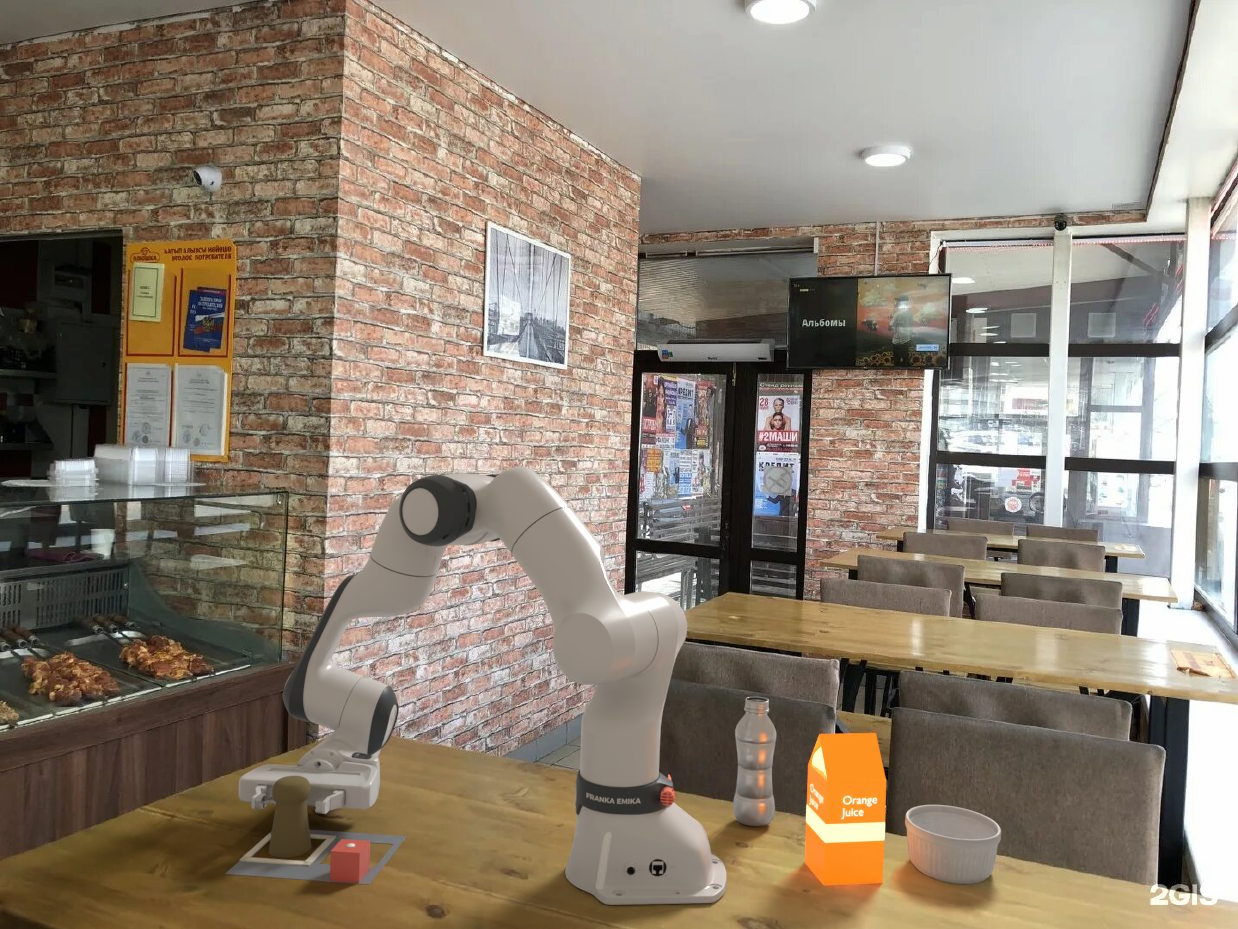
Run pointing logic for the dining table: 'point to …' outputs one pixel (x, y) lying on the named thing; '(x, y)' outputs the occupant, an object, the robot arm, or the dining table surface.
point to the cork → (290, 817)
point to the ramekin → (952, 843)
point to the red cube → (350, 860)
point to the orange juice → (846, 810)
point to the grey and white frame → (312, 858)
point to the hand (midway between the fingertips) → (287, 806)
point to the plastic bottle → (755, 764)
